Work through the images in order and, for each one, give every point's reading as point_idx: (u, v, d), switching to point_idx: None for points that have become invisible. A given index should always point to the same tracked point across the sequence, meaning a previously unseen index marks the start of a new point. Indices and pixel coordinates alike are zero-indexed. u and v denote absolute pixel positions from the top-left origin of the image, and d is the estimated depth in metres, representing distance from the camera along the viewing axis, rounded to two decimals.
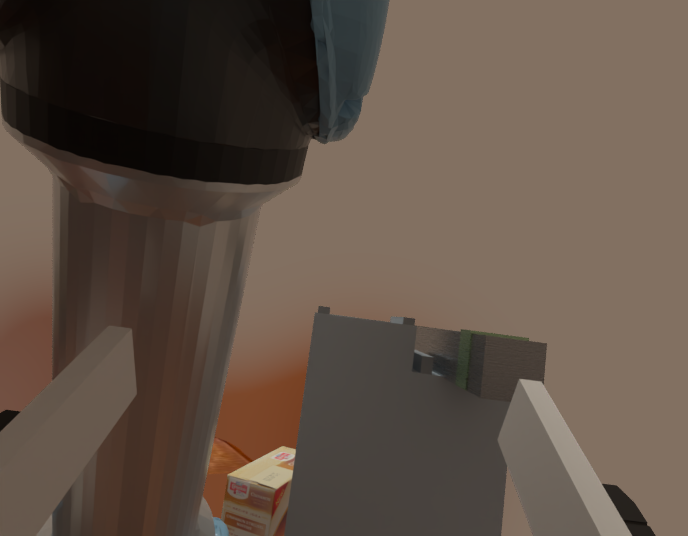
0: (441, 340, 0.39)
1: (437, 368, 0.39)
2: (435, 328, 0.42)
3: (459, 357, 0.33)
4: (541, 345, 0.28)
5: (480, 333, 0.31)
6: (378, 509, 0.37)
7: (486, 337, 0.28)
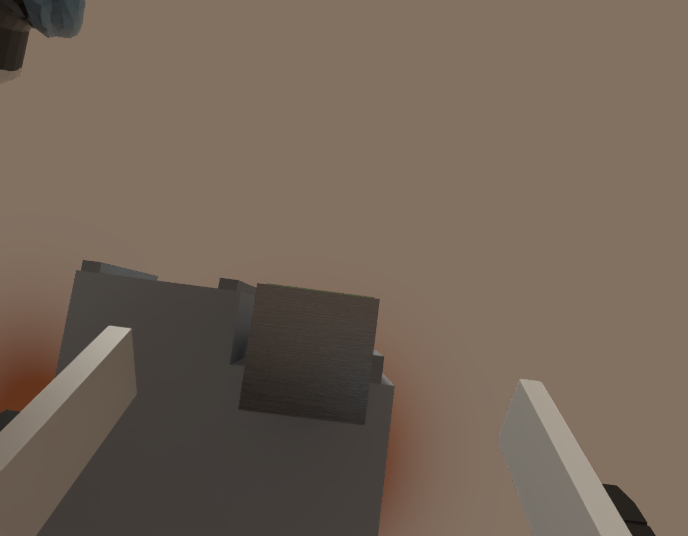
0: None
1: None
2: None
3: None
4: (368, 303, 0.14)
5: None
6: None
7: (257, 287, 0.14)
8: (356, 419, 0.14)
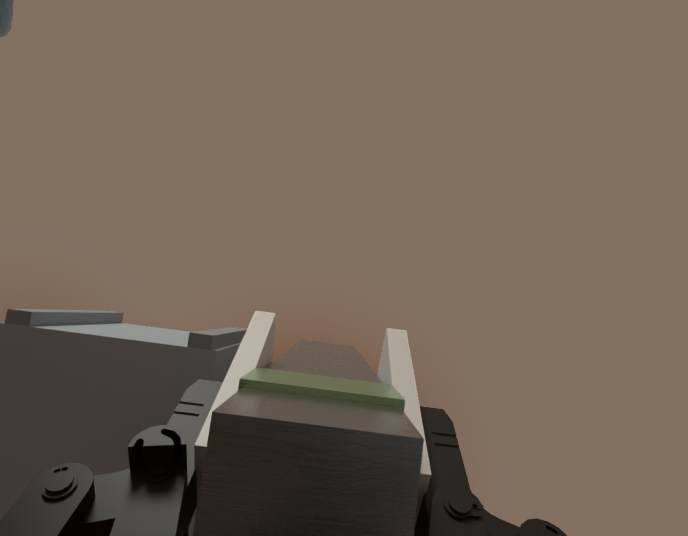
0: None
1: None
2: (286, 351, 0.22)
3: None
4: (405, 445, 0.08)
5: (265, 386, 0.11)
6: None
7: (213, 418, 0.08)
8: None
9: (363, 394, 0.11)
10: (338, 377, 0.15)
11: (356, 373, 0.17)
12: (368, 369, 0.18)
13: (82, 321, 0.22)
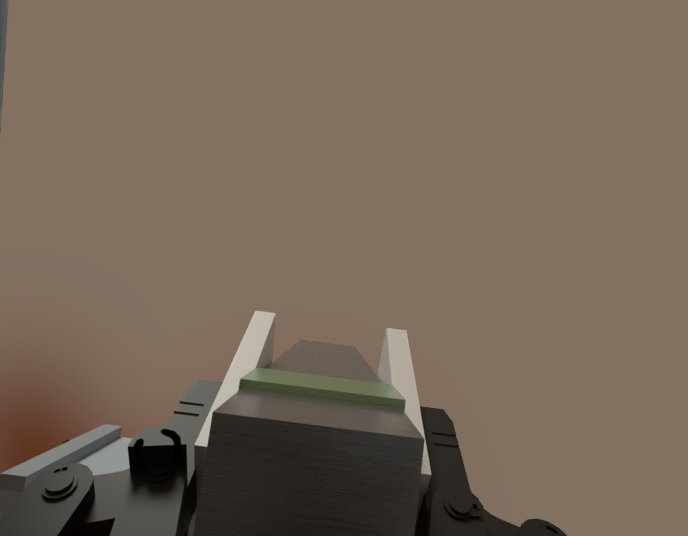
0: None
1: None
2: None
3: None
4: (406, 445, 0.08)
5: (266, 387, 0.11)
6: None
7: (213, 418, 0.08)
8: None
9: (364, 394, 0.11)
10: (338, 377, 0.15)
11: (356, 373, 0.17)
12: (368, 369, 0.18)
13: (79, 457, 0.21)
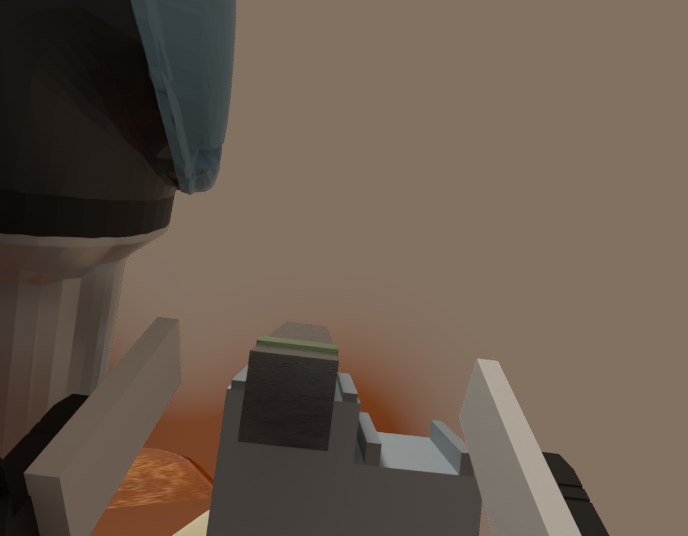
0: None
1: None
2: (277, 329, 0.33)
3: None
4: (331, 363, 0.20)
5: (270, 343, 0.22)
6: None
7: (250, 353, 0.20)
8: (321, 447, 0.19)
9: (318, 347, 0.23)
10: None
11: (320, 340, 0.28)
12: (329, 339, 0.30)
13: None
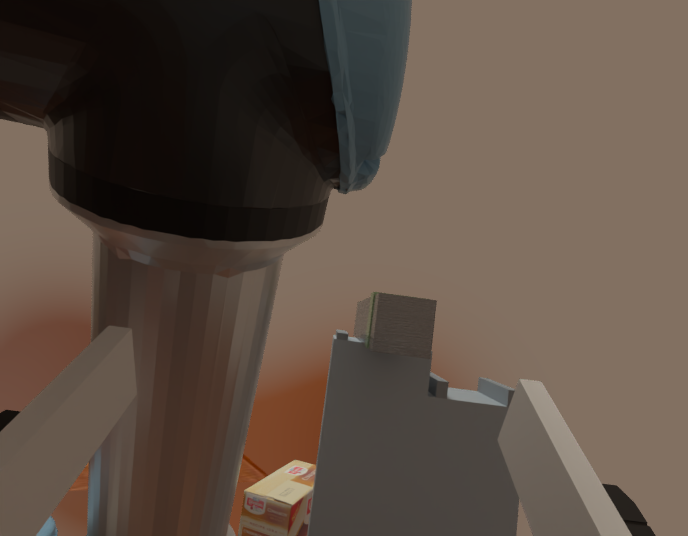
0: (364, 309, 0.41)
1: (361, 336, 0.41)
2: None
3: (368, 319, 0.35)
4: (431, 302, 0.30)
5: None
6: (396, 529, 0.38)
7: (379, 294, 0.30)
8: (426, 356, 0.30)
9: (415, 297, 0.33)
10: None
11: None
12: None
13: None
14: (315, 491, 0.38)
